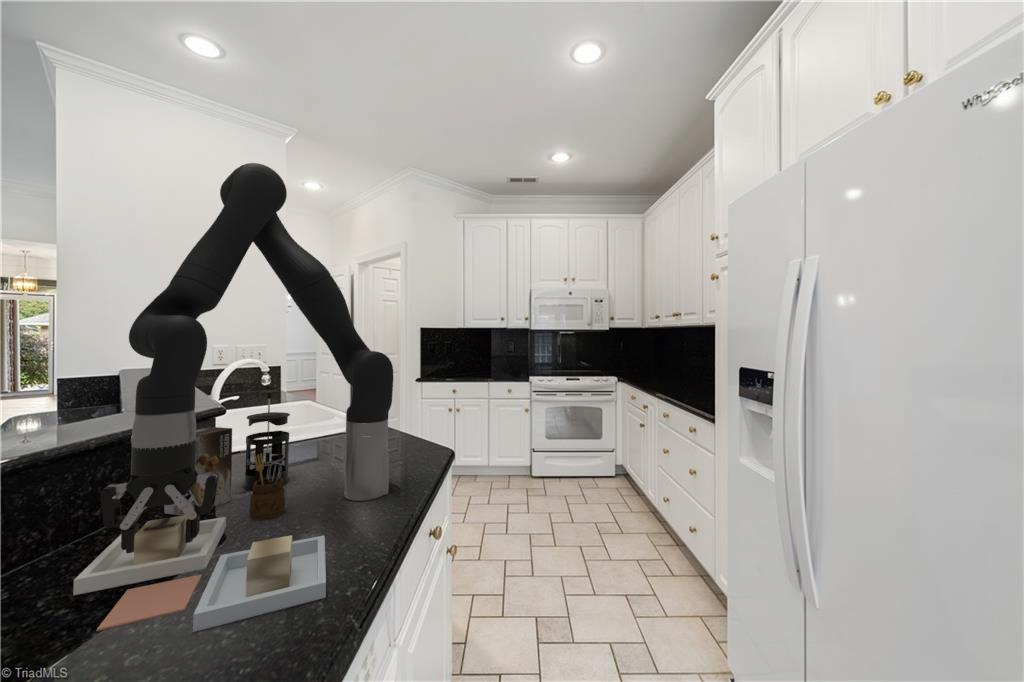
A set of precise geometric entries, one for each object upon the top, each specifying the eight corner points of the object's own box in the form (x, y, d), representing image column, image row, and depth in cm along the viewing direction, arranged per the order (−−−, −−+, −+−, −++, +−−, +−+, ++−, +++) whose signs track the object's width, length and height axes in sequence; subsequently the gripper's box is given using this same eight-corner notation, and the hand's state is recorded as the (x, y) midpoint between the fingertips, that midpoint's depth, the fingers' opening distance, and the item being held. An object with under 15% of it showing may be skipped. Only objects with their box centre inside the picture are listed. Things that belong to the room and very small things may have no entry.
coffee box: (208, 498, 83) (210, 425, 84) (232, 501, 82) (234, 427, 82) (162, 516, 74) (164, 435, 75) (188, 520, 73) (190, 437, 73)
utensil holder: (263, 525, 71) (265, 462, 72) (241, 519, 74) (243, 458, 74) (291, 512, 77) (293, 454, 77) (269, 507, 79) (271, 450, 79)
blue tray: (324, 550, 63) (324, 535, 63) (325, 601, 51) (325, 582, 51) (220, 572, 57) (220, 555, 57) (192, 637, 44) (193, 614, 44)
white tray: (225, 531, 69) (226, 516, 69) (205, 572, 57) (205, 554, 57) (121, 548, 63) (122, 533, 63) (73, 599, 50) (73, 579, 50)
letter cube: (186, 545, 63) (187, 513, 63) (176, 560, 59) (177, 526, 59) (147, 552, 61) (148, 519, 61) (133, 568, 56) (134, 533, 56)
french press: (278, 491, 88) (281, 393, 89) (233, 493, 86) (236, 393, 87) (297, 474, 100) (299, 387, 100) (258, 475, 98) (260, 387, 98)
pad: (201, 579, 55) (201, 574, 55) (184, 615, 48) (184, 608, 48) (127, 595, 51) (127, 589, 51) (96, 636, 44) (96, 629, 44)
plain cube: (291, 568, 57) (292, 535, 57) (289, 587, 53) (290, 551, 53) (251, 577, 55) (252, 542, 55) (245, 597, 50) (246, 560, 50)
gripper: (226, 431, 67) (223, 526, 66) (114, 439, 60) (110, 544, 60) (215, 441, 60) (212, 546, 60) (89, 450, 53) (84, 569, 53)
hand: (161, 545), depth 60 cm, fingers open, 6 cm apart
